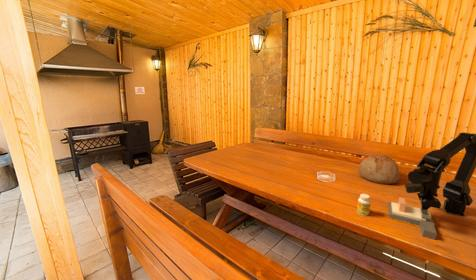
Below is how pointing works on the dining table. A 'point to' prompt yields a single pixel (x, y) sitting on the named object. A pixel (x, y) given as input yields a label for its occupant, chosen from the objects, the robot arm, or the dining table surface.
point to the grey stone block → (425, 214)
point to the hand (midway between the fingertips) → (423, 210)
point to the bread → (379, 169)
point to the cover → (406, 210)
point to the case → (417, 223)
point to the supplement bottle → (363, 205)
